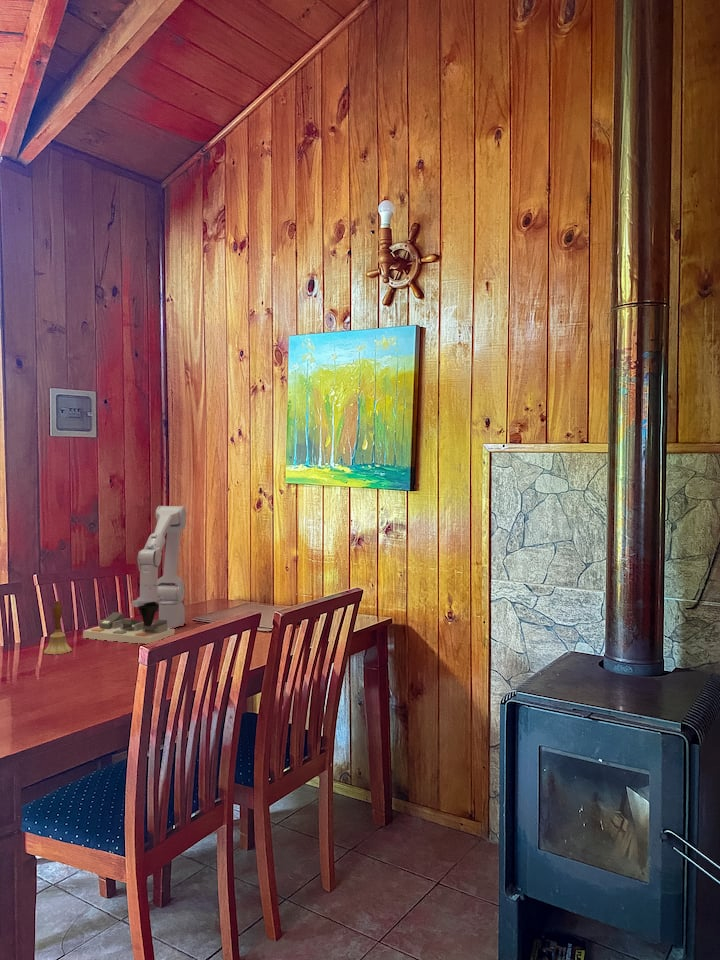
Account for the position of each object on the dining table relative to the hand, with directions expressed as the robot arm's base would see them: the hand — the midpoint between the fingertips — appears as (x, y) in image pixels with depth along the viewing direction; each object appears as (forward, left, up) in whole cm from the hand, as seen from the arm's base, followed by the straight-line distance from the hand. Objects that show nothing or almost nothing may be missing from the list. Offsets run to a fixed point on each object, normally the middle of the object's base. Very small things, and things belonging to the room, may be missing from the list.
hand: (147, 625), depth 243 cm
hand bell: (+22, -18, -5) cm, 29 cm away
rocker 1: (-4, -18, 0) cm, 18 cm away
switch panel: (-2, -9, -5) cm, 11 cm away
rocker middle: (-4, -9, 0) cm, 10 cm away
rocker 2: (-4, 0, 0) cm, 4 cm away
